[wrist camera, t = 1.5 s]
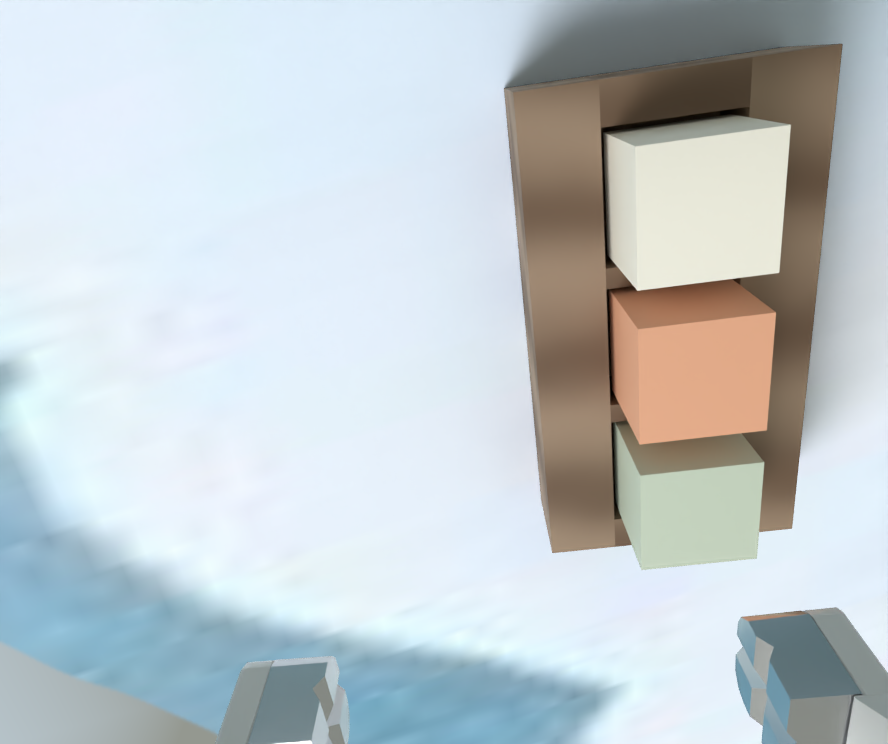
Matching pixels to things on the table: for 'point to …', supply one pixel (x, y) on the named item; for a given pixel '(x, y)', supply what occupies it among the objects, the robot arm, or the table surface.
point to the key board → (593, 273)
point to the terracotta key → (691, 360)
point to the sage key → (688, 498)
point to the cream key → (696, 200)
